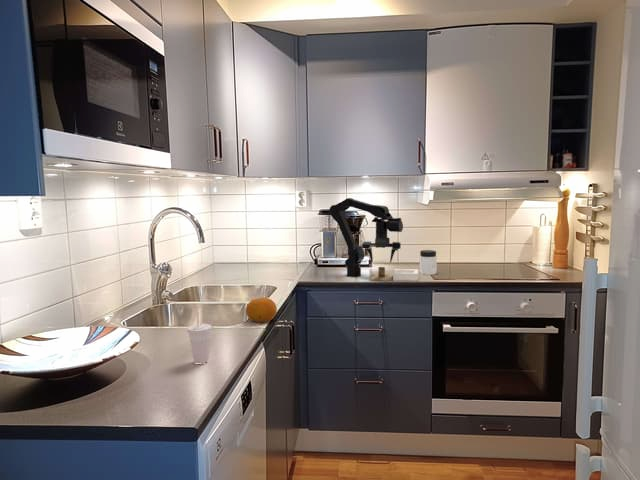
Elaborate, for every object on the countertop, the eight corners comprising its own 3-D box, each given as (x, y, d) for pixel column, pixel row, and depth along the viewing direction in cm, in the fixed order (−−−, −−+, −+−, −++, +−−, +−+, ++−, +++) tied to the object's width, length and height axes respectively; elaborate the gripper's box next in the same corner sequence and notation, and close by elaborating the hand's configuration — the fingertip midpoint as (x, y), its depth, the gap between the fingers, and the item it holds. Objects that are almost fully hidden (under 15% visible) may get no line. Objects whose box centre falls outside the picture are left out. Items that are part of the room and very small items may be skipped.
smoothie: (183, 364, 120) (181, 313, 119) (198, 356, 126) (196, 307, 125) (204, 367, 118) (201, 315, 116) (218, 359, 124) (215, 309, 122)
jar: (427, 275, 235) (428, 252, 234) (416, 273, 242) (416, 251, 241) (439, 273, 240) (439, 251, 239) (428, 271, 247) (428, 249, 245)
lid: (370, 280, 224) (370, 269, 224) (372, 275, 235) (372, 265, 234) (391, 280, 222) (391, 269, 222) (392, 276, 232) (392, 265, 232)
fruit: (265, 314, 167) (265, 293, 166) (282, 320, 159) (281, 298, 158) (240, 320, 161) (240, 298, 160) (256, 327, 152) (255, 303, 152)
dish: (393, 281, 222) (393, 273, 222) (394, 276, 234) (394, 268, 234) (418, 282, 220) (418, 273, 219) (418, 277, 231) (418, 269, 231)
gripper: (360, 232, 220) (360, 264, 222) (399, 233, 216) (399, 265, 218) (363, 230, 231) (363, 260, 233) (400, 230, 227) (400, 261, 229)
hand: (381, 262), depth 228 cm, fingers open, 9 cm apart
